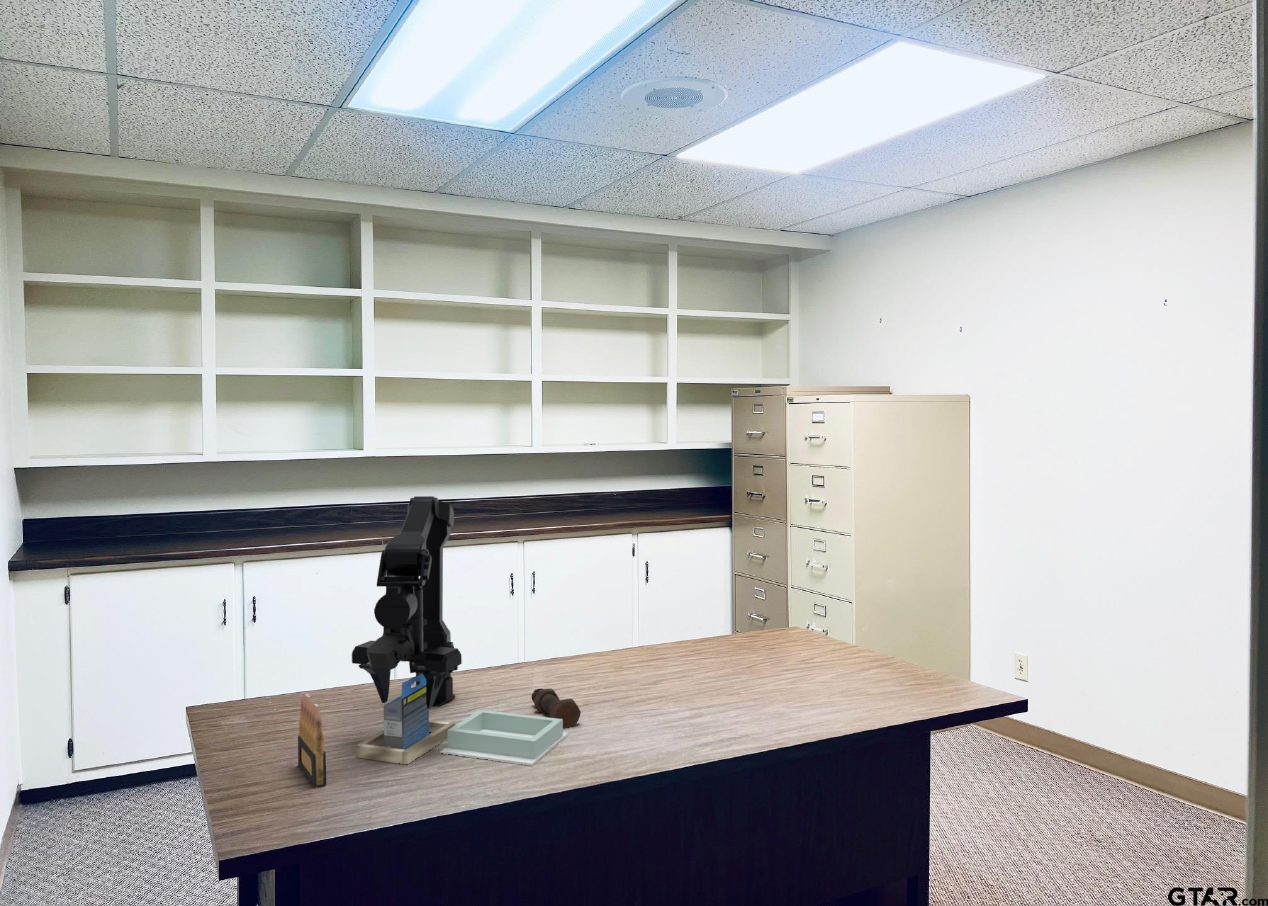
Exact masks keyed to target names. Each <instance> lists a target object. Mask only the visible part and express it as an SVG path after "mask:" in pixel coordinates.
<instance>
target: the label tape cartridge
mask: <svg viewBox="0 0 1268 906" xmlns="http://www.w3.org/2000/svg"><path fill="white" fill-rule="evenodd" d="M418 681H420V683H419V684H418V685H417V686H416V685H415V686H414V687H412V686H413V685H414V684H416V682H418ZM429 711H430V708H427V704H426V678H425V677H424V675H423V674H422V673H421V674H419V675H417V676H416V675H415V676H414V677H411V678H410V679H408V680H405V681H404V682H402V683H401V695H400V696H398V697H396V698H394V699H393V700H391V701H390V702H386V703H384V705H383V730H384V745H383V747H389V748H396V749H404V750H406V749H408V748H409V747H411V746H413V745H414V744H416V743H417V742H419V741H421V740H422V739H424V738H426V737H427V736H429V735H430V733H429V720H430V712H429Z"/></svg>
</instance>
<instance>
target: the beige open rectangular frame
mask: <svg viewBox="0 0 1268 906" xmlns="http://www.w3.org/2000/svg"><path fill="white" fill-rule="evenodd" d="M455 725H456V723H455V722H449V721H441V720H432V719H429V732H431V733H429V736H427V737H426V738H424V739H422V740H421V741H419V742H417V743H416V744H414V745H413V746H411V747H409V748H408V749H406V750H404V749H396V748H389V747H384V729H383V730H381V731H380V732H378V733H376V734H374V735H372V736H370V737H369V738H366V739H365V740H363V741H361V742H359V743H357V744H356V745H355V758H356V759H357V758H358V759H364V760H371V761H377V762H378V761H379V762H386V763H392V764H399V763H400V764H401V765H406V764H408V765H409V763H410V764H411V763H413V762H414V761H415V759H416V758H417V759H419V758H420V757H422V756H423V755H425V754H426V752H427V753H428V752H430V751H431V750H433V749H434V748H436V747H437V746H439V745H440V744H442V743H444V742H445V741H447V740H448V732H447V730H449V729H450V728H452V727H454V726H455ZM446 739H447V740H446ZM443 741H444V742H443ZM441 742H442V743H441ZM438 744H439V745H438ZM435 746H436V747H435ZM433 747H434V748H433ZM432 748H433V749H432ZM430 749H431V750H430ZM429 750H430V751H429ZM424 753H425V754H424ZM422 754H423V755H422ZM418 757H419V758H418ZM417 759H416V760H417ZM412 761H413V762H412Z"/></svg>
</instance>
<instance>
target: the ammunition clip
mask: <svg viewBox="0 0 1268 906" xmlns="http://www.w3.org/2000/svg"><path fill="white" fill-rule="evenodd" d="M322 718H323V717H322V714H321V710H320V709H319V708H318V707H317V705H316V704H315V702H314V701H312V700H311V699H310V698H309V696H308V695H306V693H303V694H302V697H301V700H300V714H299V719H298V721H299V722H298V725H299V726H298V728H299V729H298V731H299V732H298V733H299V735H298V736H297V760H298V761H297V766H299V767H298V768H299V769H300V771H301V772H302V773H304V774H303V775H304V776H305V779H307V780H309V781H310V782H309V781H308V782H309V784H310V785H311V786H312V788H313V787H314V788H313V789H317V788H320V786H322V787H326V786H327V762H326V761H327V760H326V758H327V756H326V752H325V740H324V739H325V737H324V736H325V734H324V732H323V731H324V730H323V719H322ZM325 785H326V786H325ZM316 787H317V788H316Z"/></svg>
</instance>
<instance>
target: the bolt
mask: <svg viewBox="0 0 1268 906" xmlns="http://www.w3.org/2000/svg"><path fill="white" fill-rule="evenodd" d="M531 700H532V702H533V704H534V705H535V706H534V707H536V709H537V711H538V712H539V713H540V712H541V714H549V716H548V717H549V718H556V719H563V730H564V729H570V727H571V728H573V727H575V726H576V725H577V723H578V722H579V719H580V717H581V715H582V714H581V713H582V712H581V710H580V707H579V706H578V704H577V703H576V702H575V699H573V698H565V699H560V698H559V696H558V694H557V692H556V691H555V689H553V688H542V687H541V688H535V689H534V690H533V692H532V693H531Z"/></svg>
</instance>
